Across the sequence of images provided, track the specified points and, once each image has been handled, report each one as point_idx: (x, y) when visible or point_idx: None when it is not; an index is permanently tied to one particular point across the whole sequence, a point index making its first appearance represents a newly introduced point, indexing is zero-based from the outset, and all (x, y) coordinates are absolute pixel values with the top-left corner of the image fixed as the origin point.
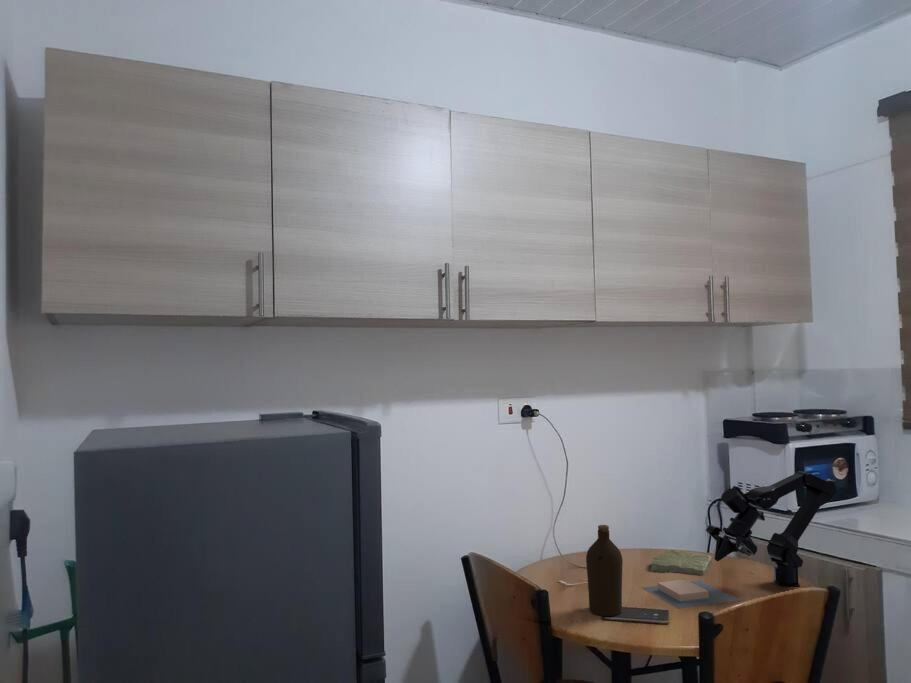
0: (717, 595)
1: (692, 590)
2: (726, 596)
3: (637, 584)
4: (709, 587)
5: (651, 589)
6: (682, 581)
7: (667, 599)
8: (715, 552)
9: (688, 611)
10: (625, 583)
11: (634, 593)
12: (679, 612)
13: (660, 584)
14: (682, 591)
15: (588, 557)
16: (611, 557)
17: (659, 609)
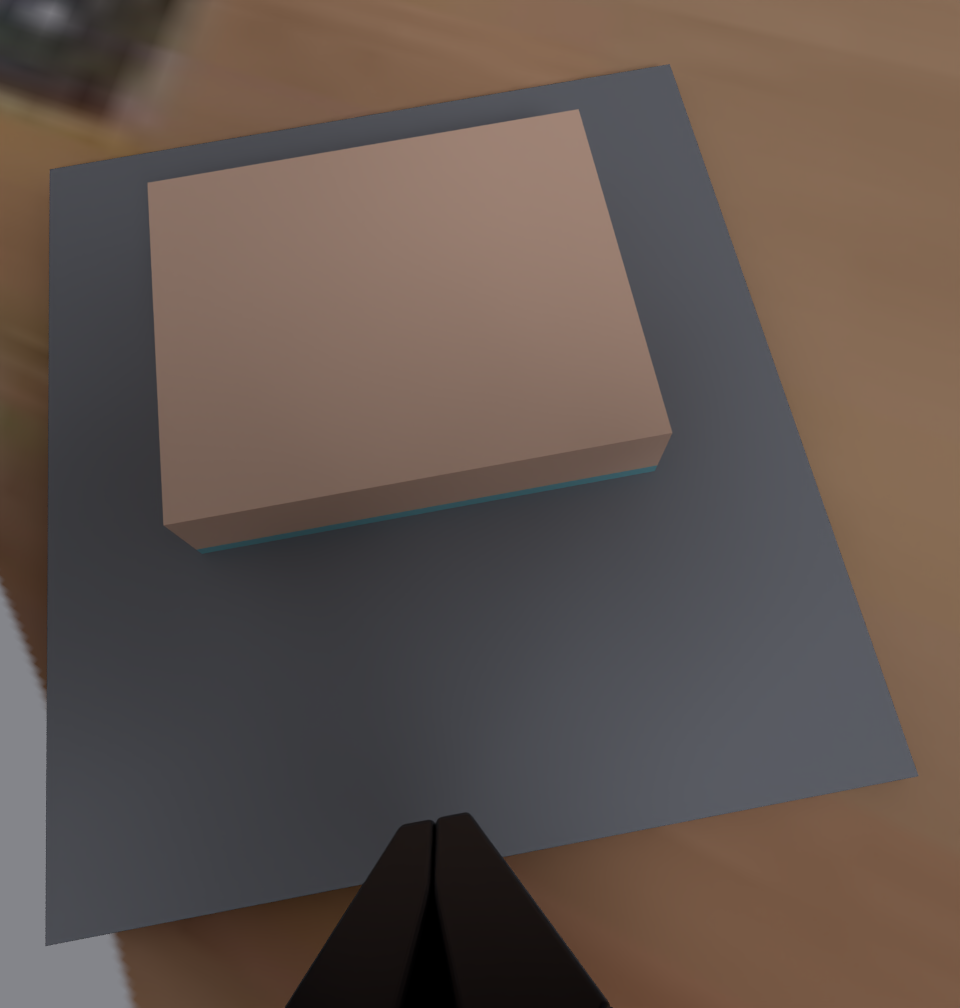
0: (283, 717)
1: (232, 351)
2: (222, 819)
3: (824, 89)
4: (600, 764)
5: (600, 125)
6: (588, 370)
7: None
8: (515, 902)
9: (8, 256)
10: (856, 7)
11: (561, 4)
12: (14, 181)
13: (526, 123)
14: (228, 237)
15: None
16: None
17: (133, 66)
